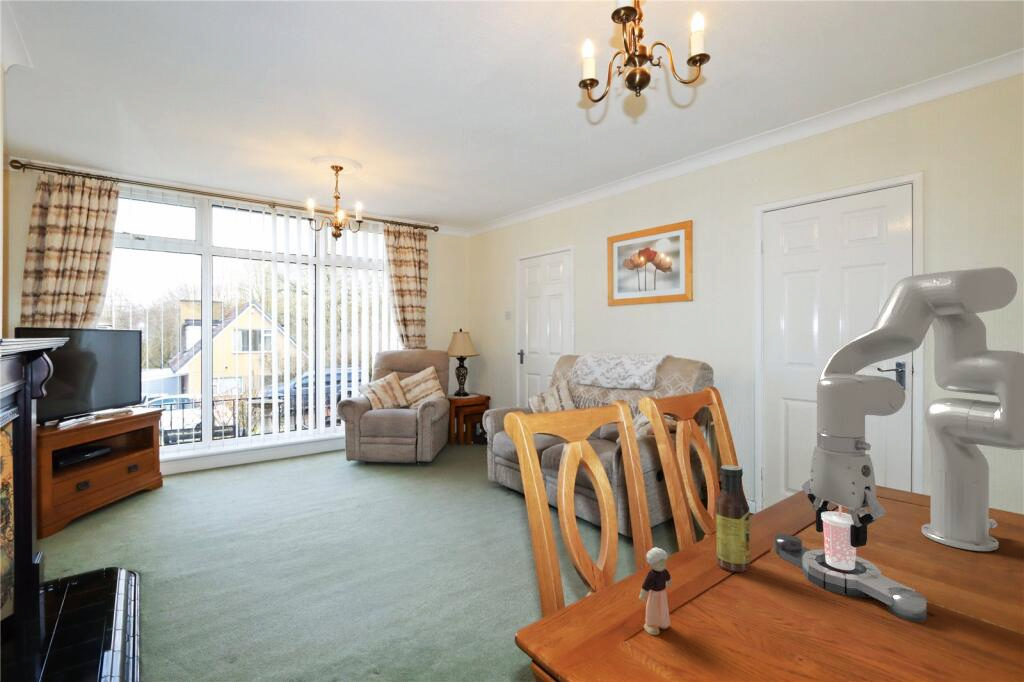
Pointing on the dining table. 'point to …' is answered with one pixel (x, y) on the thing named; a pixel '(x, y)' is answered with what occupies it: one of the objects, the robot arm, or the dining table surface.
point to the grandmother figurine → (656, 592)
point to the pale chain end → (871, 585)
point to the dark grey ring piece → (794, 552)
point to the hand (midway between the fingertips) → (840, 537)
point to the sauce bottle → (732, 522)
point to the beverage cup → (838, 539)
